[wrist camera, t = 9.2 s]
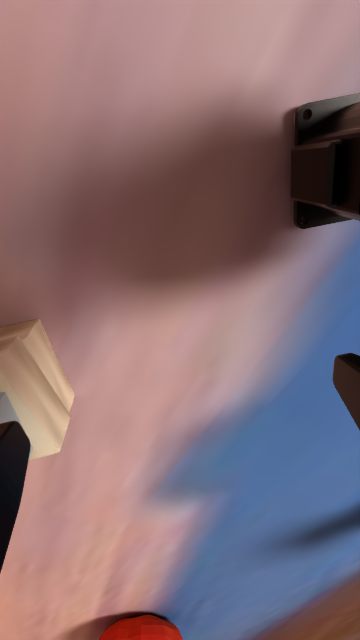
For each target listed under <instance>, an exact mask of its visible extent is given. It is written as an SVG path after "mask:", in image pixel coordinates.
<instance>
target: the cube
mask: <svg viewBox="0 0 360 640" xmlns="http://www.w3.org/2000/svg"><path fill="white" fill-rule="evenodd" d="M9 421H18V422H19V423H20V420H19V418H18V416H17V414H16V412H15V410H14V408H13V406H12V404H11V402H10V400H9V398H8V396H7V394H6V392H0V424H1V423H4V422H9ZM20 425H21V423H20ZM21 426H22V425H21ZM22 428H23V427H22ZM23 430H24V429H23ZM30 444H31V443H30ZM32 451H33V447H32V445H31V448H30V454H29V458H30V456H31V453H32ZM28 461H29V460H28Z"/></svg>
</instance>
